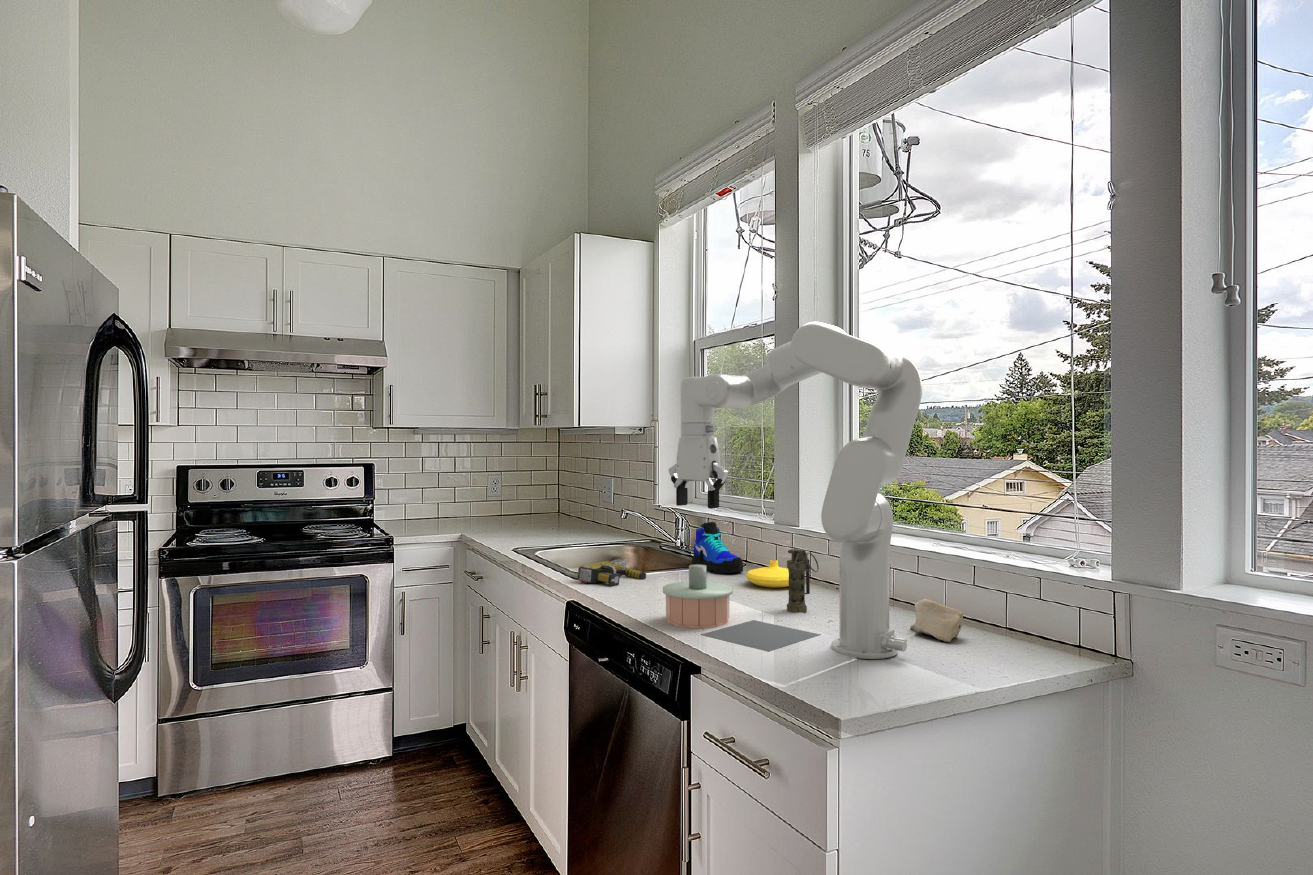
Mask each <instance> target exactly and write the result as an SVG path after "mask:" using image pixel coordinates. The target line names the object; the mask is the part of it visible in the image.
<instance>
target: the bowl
mask: <svg viewBox="0 0 1313 875" xmlns="http://www.w3.org/2000/svg"><path fill="white" fill-rule="evenodd" d="M665 618H666V622H667V623H668V624H670V625H672V626H676V627H682V628H690V629H706V628H707V629H710V628H717V627H722V626H725V625H726V624H728V623H729V622H730V621H729V619H730V595H729V596H725V597H720V598H712V599H686V598H677V597H672V596H668V595H666V594H665Z"/></svg>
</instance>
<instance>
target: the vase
mask: <svg viewBox="0 0 1313 875" xmlns="http://www.w3.org/2000/svg"><path fill="white" fill-rule="evenodd" d="M745 578H746V579H747V580H748V581H749V582H751V583H752V584H754V585H756V586H759V587H766V588H776V589H777V588H787V587H789V572H788V568H787V567H780V566H779V562H778V560H777V559H771V560H769V566H764V567H758V568H753V569H750V570H748V571H747V572H746V573H745Z"/></svg>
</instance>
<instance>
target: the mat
mask: <svg viewBox="0 0 1313 875" xmlns="http://www.w3.org/2000/svg"><path fill="white" fill-rule="evenodd" d="M699 636H704V637H707V638H712V639H716V640H720V641H722V642H723V641H724V642H728V643H732V644H736V645H741V646H744V647H748V648H752V649H757V650H760V651H764V652H772V651H775V650H779V649H782V648H785V647H788V646H791V645H794V644H796V643H800V642H803V641H806V640H810V639H813V638H816V637H819V636H822V634H820V633H815V632H811V631H807V630H803V629H797V628H792V627H789V626H783V625H779V624H774V623H769V622H765V621H761V620H760V621H758V620H755V619H752V620H749V621H744V622H741V623H738V624H734V625H731V626H727V627H726V626H725V627H723V628H719V629H715V630H711V631H708V632H704V633H700V634H699Z"/></svg>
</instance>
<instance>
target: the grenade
mask: <svg viewBox="0 0 1313 875" xmlns="http://www.w3.org/2000/svg"><path fill="white" fill-rule="evenodd" d="M787 552H788V554H791V559H788V560H787V561H786V568H787V569H788V572H789V586H788V602H787V603H786V610H787V612H788V613H789V612H791V613H799V614H800V613H801V614H802V613H803V614H806V613H807V612H808V608H807V607H808V606H807V604H806V598H805V595H810V593H811V592H810V590H811V588H810V586H811V585H810V584H811V582H810V580H811V579H810V572H811V570H812V571H813V573H817V572H819V562H818V560H817V558H816V556H815V555H814V554H813V553H811V552H806V550H805V549H804V548H803V549H801V548H793V549H792V548H791V549H789V550H788V551H787ZM808 555H811V556H812V558H813V559H814V561H815V564H816V570H815V569H813V567H812V566H811V564H810V559H809V558H808Z"/></svg>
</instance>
